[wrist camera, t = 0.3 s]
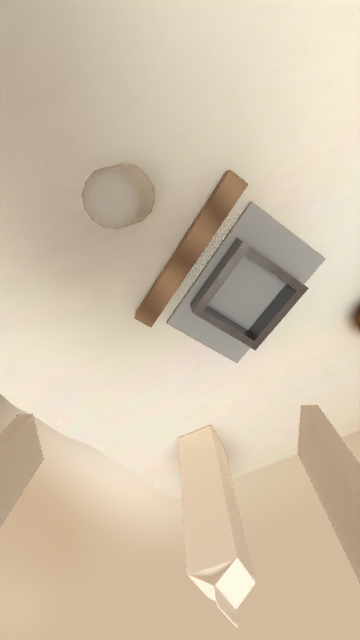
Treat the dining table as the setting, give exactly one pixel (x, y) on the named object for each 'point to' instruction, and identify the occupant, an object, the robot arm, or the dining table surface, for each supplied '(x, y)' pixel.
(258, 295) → the keeper plate
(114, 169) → the salt shaker
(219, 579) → the milk
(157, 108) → the dining table surface
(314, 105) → the dining table surface
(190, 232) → the door-edge bar
